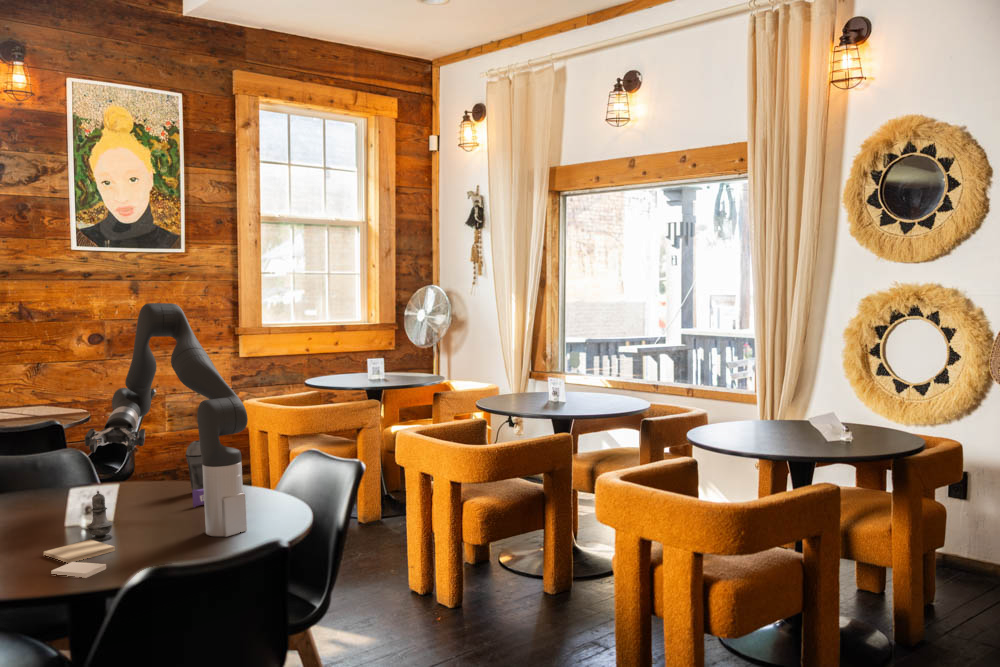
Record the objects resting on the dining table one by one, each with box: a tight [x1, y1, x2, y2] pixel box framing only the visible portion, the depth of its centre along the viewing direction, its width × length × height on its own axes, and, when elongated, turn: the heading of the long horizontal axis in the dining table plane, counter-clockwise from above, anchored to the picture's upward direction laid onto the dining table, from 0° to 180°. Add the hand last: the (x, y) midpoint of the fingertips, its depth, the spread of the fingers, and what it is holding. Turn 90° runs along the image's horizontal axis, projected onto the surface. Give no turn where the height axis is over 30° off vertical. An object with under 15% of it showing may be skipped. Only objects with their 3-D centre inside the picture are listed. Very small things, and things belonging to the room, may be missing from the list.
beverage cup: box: [185, 440, 204, 491], centre depth 257 cm, size 7×7×20 cm
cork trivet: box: [43, 539, 116, 564], centre depth 201 cm, size 11×11×1 cm
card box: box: [50, 561, 107, 579], centre depth 187 cm, size 9×6×2 cm, turn 73°
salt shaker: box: [86, 490, 114, 543], centre depth 212 cm, size 6×6×12 cm
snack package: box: [191, 489, 204, 508], centre depth 245 cm, size 12×2×5 cm, turn 139°
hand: (110, 449), depth 223 cm, fingers open, 8 cm apart
